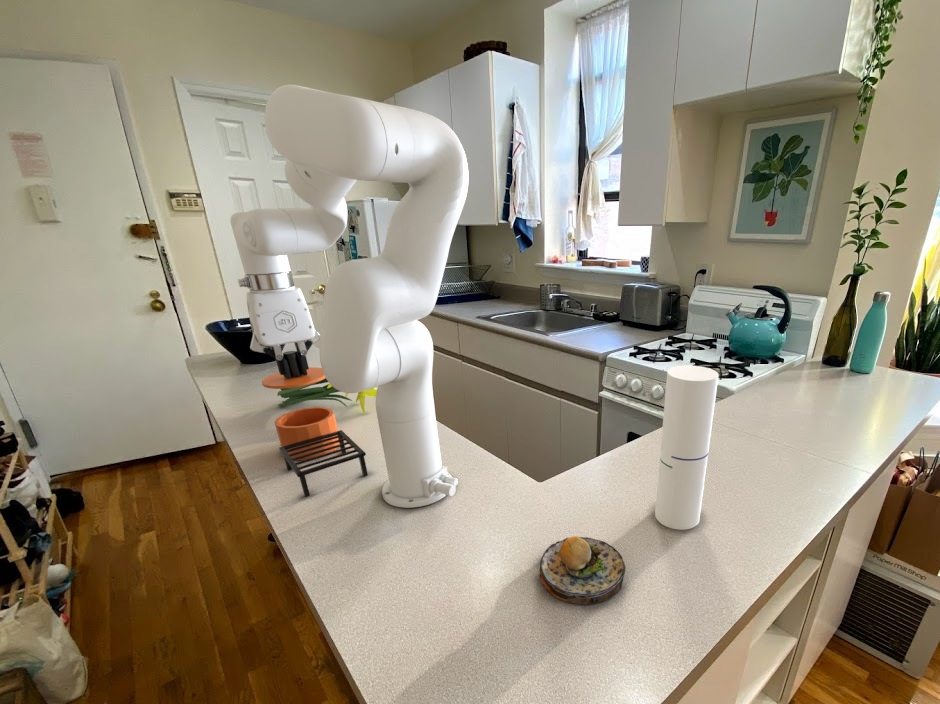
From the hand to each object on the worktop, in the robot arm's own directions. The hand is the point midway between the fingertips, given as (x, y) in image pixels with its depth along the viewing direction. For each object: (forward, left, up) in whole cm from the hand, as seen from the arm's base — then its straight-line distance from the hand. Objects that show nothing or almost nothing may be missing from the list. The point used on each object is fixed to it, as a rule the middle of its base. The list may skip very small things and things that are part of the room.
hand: (295, 374), depth 95 cm
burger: (-68, +10, -17) cm, 71 cm away
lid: (0, 0, -1) cm, 1 cm away
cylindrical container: (-77, -9, -17) cm, 80 cm away
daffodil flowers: (+16, -17, -17) cm, 29 cm away
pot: (+1, 0, -17) cm, 17 cm away
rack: (-11, +6, -17) cm, 21 cm away
